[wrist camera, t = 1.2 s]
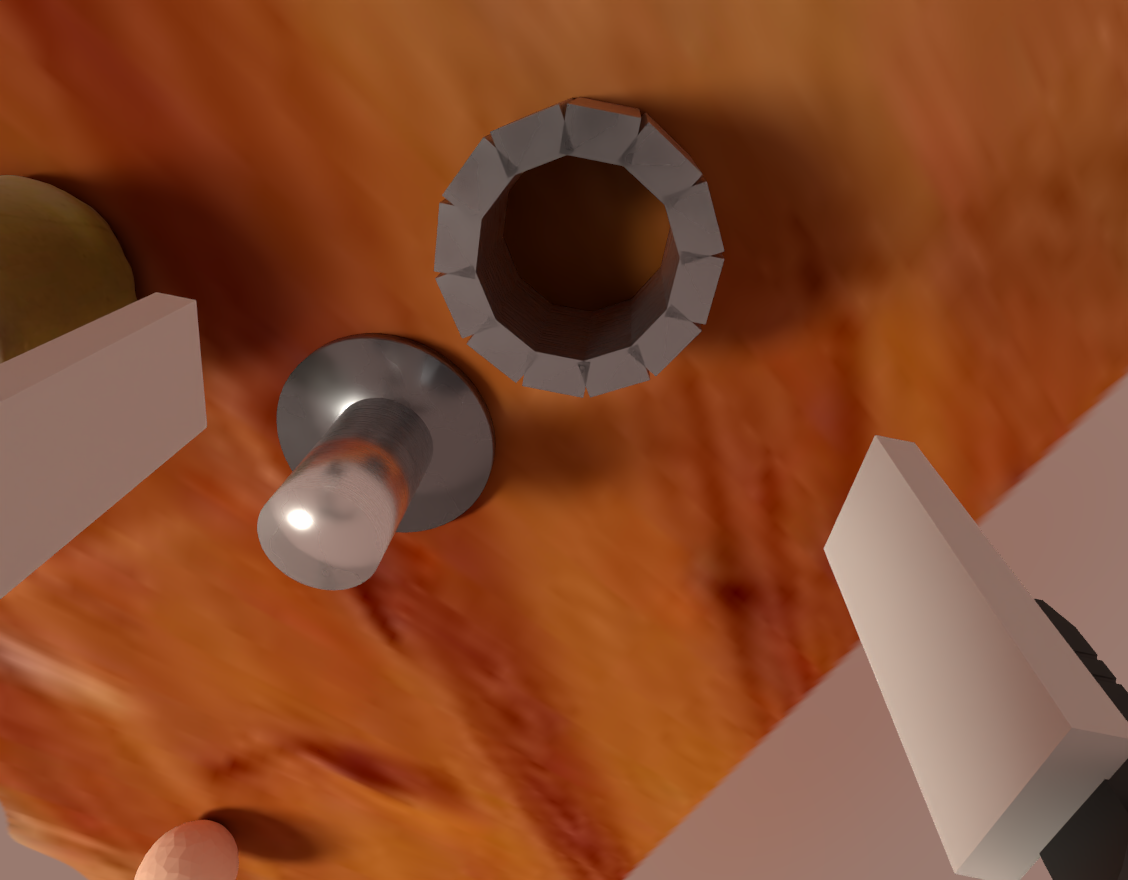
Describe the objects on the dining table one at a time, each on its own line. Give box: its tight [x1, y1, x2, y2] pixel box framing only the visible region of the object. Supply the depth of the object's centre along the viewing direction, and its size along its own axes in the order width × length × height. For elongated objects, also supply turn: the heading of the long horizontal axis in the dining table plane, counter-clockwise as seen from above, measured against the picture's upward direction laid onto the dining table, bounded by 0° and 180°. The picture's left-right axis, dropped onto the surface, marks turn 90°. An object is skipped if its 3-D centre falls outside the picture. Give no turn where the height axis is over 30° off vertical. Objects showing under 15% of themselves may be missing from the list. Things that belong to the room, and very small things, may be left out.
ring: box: [434, 97, 724, 398], centre depth 27 cm, size 10×10×6 cm
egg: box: [134, 820, 239, 880], centre depth 50 cm, size 7×7×8 cm
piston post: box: [257, 333, 495, 590], centre depth 31 cm, size 11×11×9 cm
